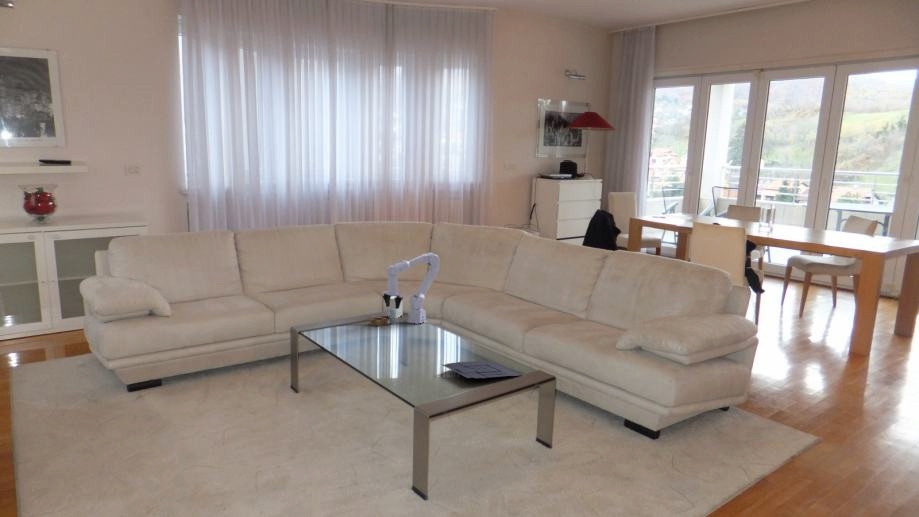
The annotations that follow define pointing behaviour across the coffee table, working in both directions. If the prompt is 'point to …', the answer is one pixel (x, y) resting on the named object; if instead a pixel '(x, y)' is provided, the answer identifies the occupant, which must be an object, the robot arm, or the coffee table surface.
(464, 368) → the grey flat block
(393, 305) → the supplement box
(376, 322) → the brown square frame
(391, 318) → the dowel
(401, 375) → the coffee table surface
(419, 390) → the coffee table surface
